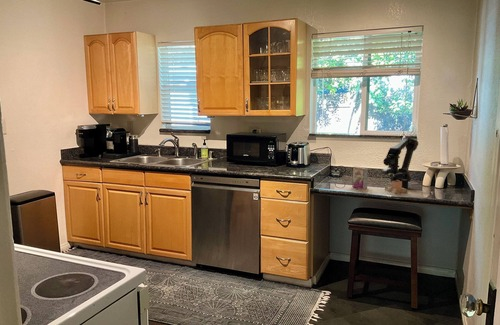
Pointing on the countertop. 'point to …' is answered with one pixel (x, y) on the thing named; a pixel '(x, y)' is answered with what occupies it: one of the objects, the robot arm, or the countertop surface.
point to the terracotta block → (397, 185)
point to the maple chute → (396, 190)
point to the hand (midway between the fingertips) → (392, 184)
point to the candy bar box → (360, 177)
